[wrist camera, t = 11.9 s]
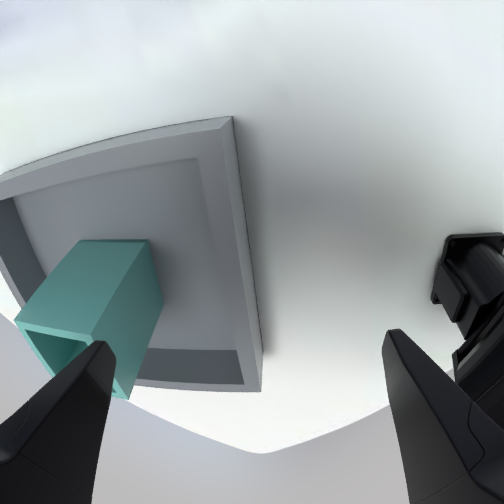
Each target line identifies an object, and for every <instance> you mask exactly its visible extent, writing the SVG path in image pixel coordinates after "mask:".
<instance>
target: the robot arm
mask: <svg viewBox="0 0 504 504" xmlns="http://www.w3.org/2000/svg"><path fill="white" fill-rule="evenodd" d="M452 241H453V243H452V244H451V242H452ZM503 249H504V234H503V233H490V234H470V235H452V236H449V237H448V238H447V240H446V243H445V247H444V252H443V256H442V260H441V263H440V265H439V269H438V273H437V276H436V280H435V283H434V287H433V292H432V295H431V301H432V303H433V304H442V305H443V307H444V309H445V311H446V313H447V314H448V316H449V318H450V320H451V321H452V323H456V324H457V325H458V327H459V329H460V331H461V333H462V335H463V337H464V339H465V340H466V341H465V342H464V343H463V344H462V346H461V347H460V348H459V349H457V350H456V351H455V352H454V353H453V354H452V359H453V367H454V376H455V382H454V381H453V380H452V379H451V378H450V377H449V376H448V375H447V374H446V373H445V372H444V371H443V370H442V369H441V368H440V367H439V366H438V365H437V364H436V363H435V362H434V361H433V360H432V359H431V358H430V357H429V356H428V355H427V354H426V353H425V352H424V351H423V350H422V349H421V348H420V347H419V346H418V345H417V344H416V343H415V342H414V341H413V340H411V339H410V338H409V337H408V336H407V335H406V334H405V333H404V332H403V331H402V330H401V329H392V330H388V331H387V332H386V335H385V339H384V342H383V346H382V357H383V364H384V370H385V377H386V385H387V392H388V398H389V403H390V407H391V410H392V415H393V419H394V423H395V427H396V432H397V437H398V441H399V446H400V451H401V456H402V461H403V466H404V472H405V478H406V483H407V489H408V496H409V502H410V504H504V255H503V254H502V252H503ZM115 368H116V356H115V354H114V352H113V351H112V349H111V348H110V346H109V344H108V343H107V342H106V341H103V340H95V341H94V342H92V343H91V344H90V345H89V346H88V347H87V348H86V349H84V350H83V351H82V352H81V353H80V354H79V355H78V356H77V357H75V358H74V359H73V360H72V361H71V362H70V363H69V364H68V365H66V366H65V367H64V368H63V369H62V370H61V371H60V372H59V373H58V374H56V375H55V376H54V377H53V378H52V379H51V380H50V381H49V382H48V383H47V384H45V385H44V386H43V387H42V388H41V389H40V390H39V391H38V392H37V393H36V394H35V395H33V396H32V397H31V398H30V399H29V401H27V402H26V403H25V404H24V405H23V406H22V407H21V408H19V409H18V410H17V411H16V412H15V413H14V414H13V415H12V416H10V417H9V418H8V419H7V420H5V421H4V422H3V423H2V424H0V504H91V502H92V493H93V487H94V481H95V475H96V469H97V463H98V457H99V452H100V447H101V442H102V437H103V432H104V428H105V423H106V419H107V414H108V410H109V406H110V401H111V395H112V388H113V381H114V374H115Z"/></svg>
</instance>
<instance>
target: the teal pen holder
mask: <svg viewBox="0 0 504 504" xmlns="http://www.w3.org/2000/svg"><path fill="white" fill-rule="evenodd" d="M163 306H164V302H163V298H162V294H161V291H160V287H159V283H158V279H157V275H156V271H155V267H154V263H153V259H152V255H151V251H150V246H149V242H148V239H103V240H79V241H78V242H77V243H76V244H75V245H74V247H73V248H72V249H71V250H70V251H69V252H68V253H67V254H66V255H65V257H64V258H63V259H62V260H61V261H60V262H59V264H58V265H57V266H56V267H55V268H54V269H53V271H52V272H51V273H50V274H49V275H48V277H47V278H46V279H45V280H44V281H43V283H42V284H41V285H40V286H39V288H38V289H37V290H36V291H35V293H34V294H33V295H32V296H31V298H30V299H29V300H28V302H27V303H26V304H25V306H24V307H23V308H22V310H21V311H20V312H19V314H18V315H17V316H16V318H15V319H14V321H15V323H16V325H17V326H18V328H19V330H20V331H21V333H22V334H23V336H24V338H25V339H26V341H27V342H28V344H29V345H30V347H31V348H32V349H33V351H34V353H35V354H36V355H37V357H38V358H39V360H40V361H41V363H42V364H43V365H44V367H45V368H46V369H47V371H48V372H49V373H50V375H51V376H52V377H54V376H55V375H56V374H58V373H59V372H60V371H61V370H62V369H63V368H64V367H65V366H66V365H68V364H69V363H70V362H71V361H72V360H73V359H74V358H75V357H77V356H78V355H79V354H80V353H81V352H82V351H83V350H84V349H86V348H87V347H88V346H89V345H90V344H91V343H92V342H94V341H95V340H103V341H106V342H107V343H108V344H109V346H110V348H111V349H112V351H113V352H114V354H115V356H116V368H115V374H114V381H113V388H112V395H111V396H112V397H117V398H122V399H127V400H129V397H130V395H131V392H132V389H133V386H134V383H135V380H136V377H137V375H138V372H139V369H140V366H141V364H142V361H143V358H144V355H145V353H146V350H147V347H148V345H149V342H150V339H151V337H152V334H153V332H154V329H155V327H156V324H157V321H158V319H159V316H160V314H161V311H162V309H163Z"/></svg>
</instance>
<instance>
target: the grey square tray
mask: <svg viewBox="0 0 504 504" xmlns="http://www.w3.org/2000/svg"><path fill="white" fill-rule="evenodd" d="M103 239H148V242H149V246H150V251H151V255H152V259H153V263H154V267H155V271H156V275H157V279H158V283H159V287H160V291H161V294H162V298H163V302H164V306H163V309H162V311H161V314H160V316H159V319H158V321H157V324H156V327H155V329H154V332H153V334H152V337H151V339H150V342H149V345H148V347H147V350H146V353H145V355H144V358H143V361H142V364H141V366H140V369H139V372H138V375H137V377H136V380H135V383H134V385H137V386H146V387H155V388H166V389H178V390H193V391H214V392H261V385H262V365H263V346H262V338H261V331H260V323H259V316H258V308H257V301H256V293H255V286H254V278H253V271H252V263H251V255H250V248H249V240H248V233H247V225H246V217H245V210H244V202H243V195H242V187H241V179H240V172H239V164H238V156H237V149H236V141H235V133H234V125H233V118H232V116H227V117H219V118H212V119H205V120H198V121H192V122H186V123H180V124H174V125H169V126H163V127H158V128H153V129H148V130H144V131H139V132H134V133H130V134H126V135H122V136H117V137H113V138H109V139H106V140H102V141H98V142H94V143H91V144H87V145H84V146H80V147H77V148H73V149H70V150H67V151H64V152H61V153H58V154H54V155H51V156H48V157H45V158H43V159H40V160H37V161H34V162H31V163H29V164H26V165H23V166H21V167H18V168H15V169H13V170H10V171H8V172H5V173H3V174H1V175H0V271H1V273H2V275H3V277H4V279H5V281H6V283H7V284H8V286H9V288H10V290H11V292H12V293H13V295H14V297H15V299H16V300H17V302H18V304H19V306H20V307H21V309H22V308H23V307H24V306H25V304H26V303H27V302H28V300H29V299H30V298H31V296H32V295H33V294H34V293H35V291H36V290H37V289H38V288H39V286H40V285H41V284H42V283H43V281H44V280H45V279H46V278H47V277H48V275H49V274H50V273H51V272H52V271H53V269H54V268H55V267H56V266H57V265H58V264H59V262H60V261H61V260H62V259H63V258H64V257H65V255H66V254H67V253H68V252H69V251H70V250H71V249H72V248H73V247H74V245H75V244H76V243H77V242H78V241H79V240H103Z"/></svg>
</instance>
